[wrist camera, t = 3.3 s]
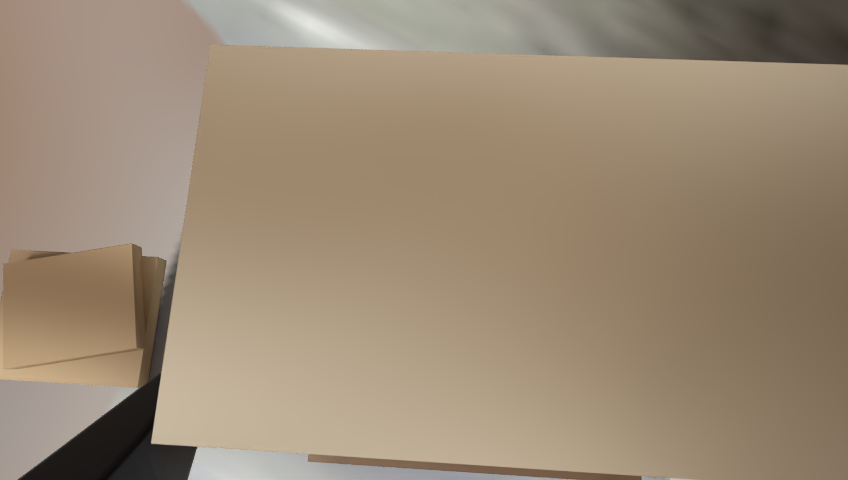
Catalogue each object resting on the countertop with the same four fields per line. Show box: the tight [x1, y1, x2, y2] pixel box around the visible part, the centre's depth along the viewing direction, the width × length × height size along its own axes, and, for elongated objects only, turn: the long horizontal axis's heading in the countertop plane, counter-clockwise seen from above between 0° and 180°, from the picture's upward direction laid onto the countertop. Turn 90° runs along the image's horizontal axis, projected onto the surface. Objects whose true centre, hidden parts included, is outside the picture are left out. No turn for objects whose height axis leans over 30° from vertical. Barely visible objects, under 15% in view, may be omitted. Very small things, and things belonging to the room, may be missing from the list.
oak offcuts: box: [0, 244, 166, 388], centre depth 19 cm, size 4×5×1 cm
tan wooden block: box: [151, 45, 848, 480], centre depth 12 cm, size 4×6×14 cm, turn 87°
